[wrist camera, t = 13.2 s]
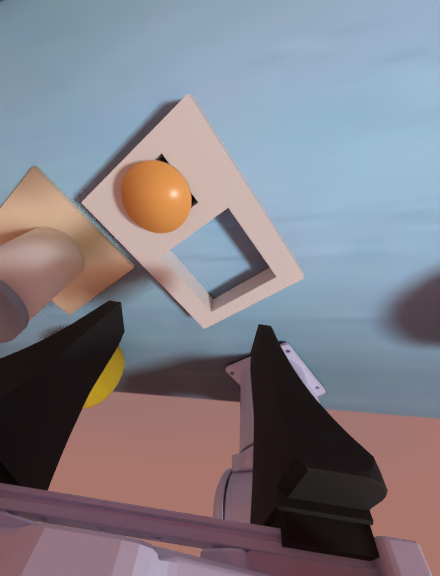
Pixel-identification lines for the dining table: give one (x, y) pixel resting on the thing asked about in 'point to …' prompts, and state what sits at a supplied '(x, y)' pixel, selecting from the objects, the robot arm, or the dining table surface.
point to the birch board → (69, 219)
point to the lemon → (107, 380)
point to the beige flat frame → (196, 215)
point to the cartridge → (34, 275)
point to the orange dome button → (156, 196)
